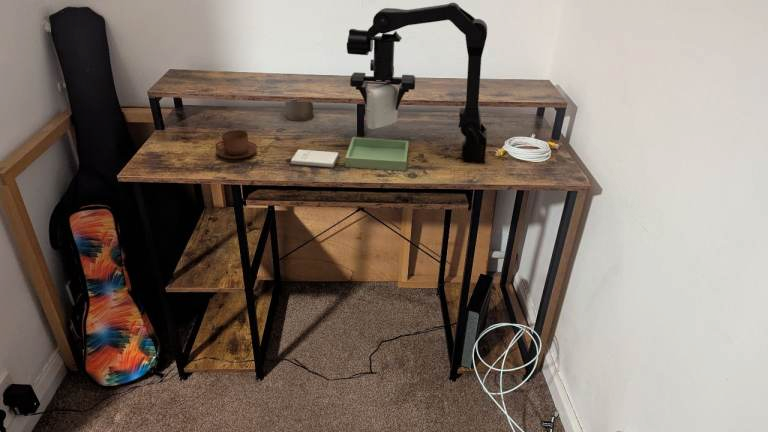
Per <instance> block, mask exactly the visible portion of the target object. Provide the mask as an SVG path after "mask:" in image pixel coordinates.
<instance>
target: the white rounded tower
mask: <svg viewBox="0 0 768 432" xmlns="http://www.w3.org/2000/svg"><path fill="white" fill-rule="evenodd" d="M398 91H399V88H398V87H397V85H393V84H377V85H375V86H373V87H372V88H370V89H369V90H368V93H367V107H366V126H367V128H368V129H371V130H376V129H380V128H383V127H387V126H391V125H394V124H397V122H398V113H399V112H398V111H399V110H398V109H399V108H398V109H397V110H396V102H397V97H398Z"/></svg>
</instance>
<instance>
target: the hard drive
mask: <svg viewBox="0 0 768 432" xmlns="http://www.w3.org/2000/svg"><path fill="white" fill-rule="evenodd" d="M339 157H340V152H336V151H325V150H324V151H323V150H311V149H297V151H296V152H295V154H293V156H292V158H291V160H290V163H291V165H298V166H308V167H321V168H332V169H333V168H334V167H335V165H336V163H337V162H338V160H339Z"/></svg>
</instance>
